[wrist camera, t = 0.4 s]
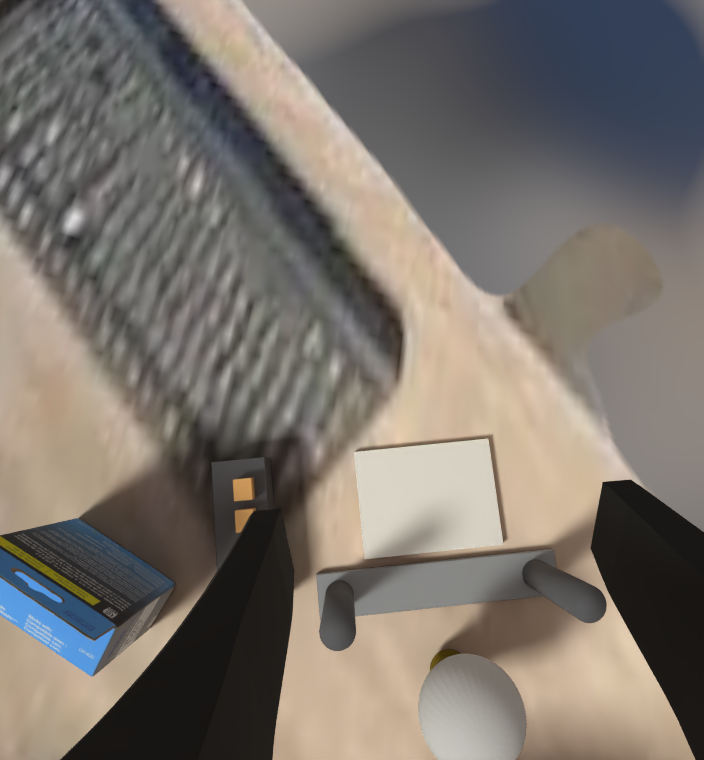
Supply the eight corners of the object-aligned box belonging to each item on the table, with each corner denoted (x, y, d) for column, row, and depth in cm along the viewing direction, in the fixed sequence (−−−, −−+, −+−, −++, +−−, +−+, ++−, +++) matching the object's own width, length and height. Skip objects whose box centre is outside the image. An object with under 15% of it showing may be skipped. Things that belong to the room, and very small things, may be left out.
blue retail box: (46, 563, 37) (-104, 613, 24) (78, 515, 37) (-53, 540, 25) (148, 632, 36) (47, 717, 24) (180, 581, 36) (96, 640, 24)
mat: (501, 543, 37) (503, 544, 37) (364, 558, 37) (364, 559, 36) (486, 438, 38) (488, 438, 38) (353, 452, 38) (354, 452, 38)
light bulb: (458, 603, 36) (500, 654, 26) (505, 679, 36) (566, 762, 26) (388, 650, 36) (404, 720, 26) (434, 728, 35) (469, 832, 25)
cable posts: (557, 592, 37) (620, 629, 28) (320, 617, 36) (312, 663, 28) (550, 548, 37) (610, 572, 29) (316, 573, 37) (308, 605, 28)
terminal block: (280, 599, 36) (272, 615, 32) (230, 605, 36) (215, 621, 32) (270, 457, 38) (261, 456, 34) (222, 462, 38) (207, 462, 34)
